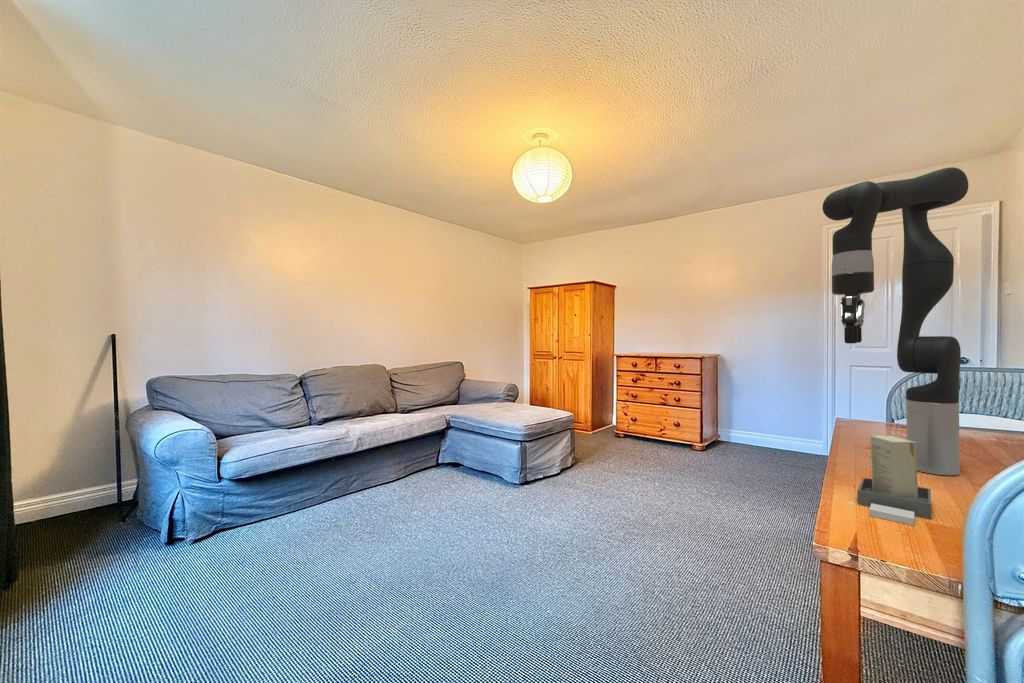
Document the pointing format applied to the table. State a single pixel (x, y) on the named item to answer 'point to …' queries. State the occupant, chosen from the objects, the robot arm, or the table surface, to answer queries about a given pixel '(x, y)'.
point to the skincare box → (894, 467)
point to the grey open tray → (894, 504)
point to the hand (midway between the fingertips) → (853, 343)
